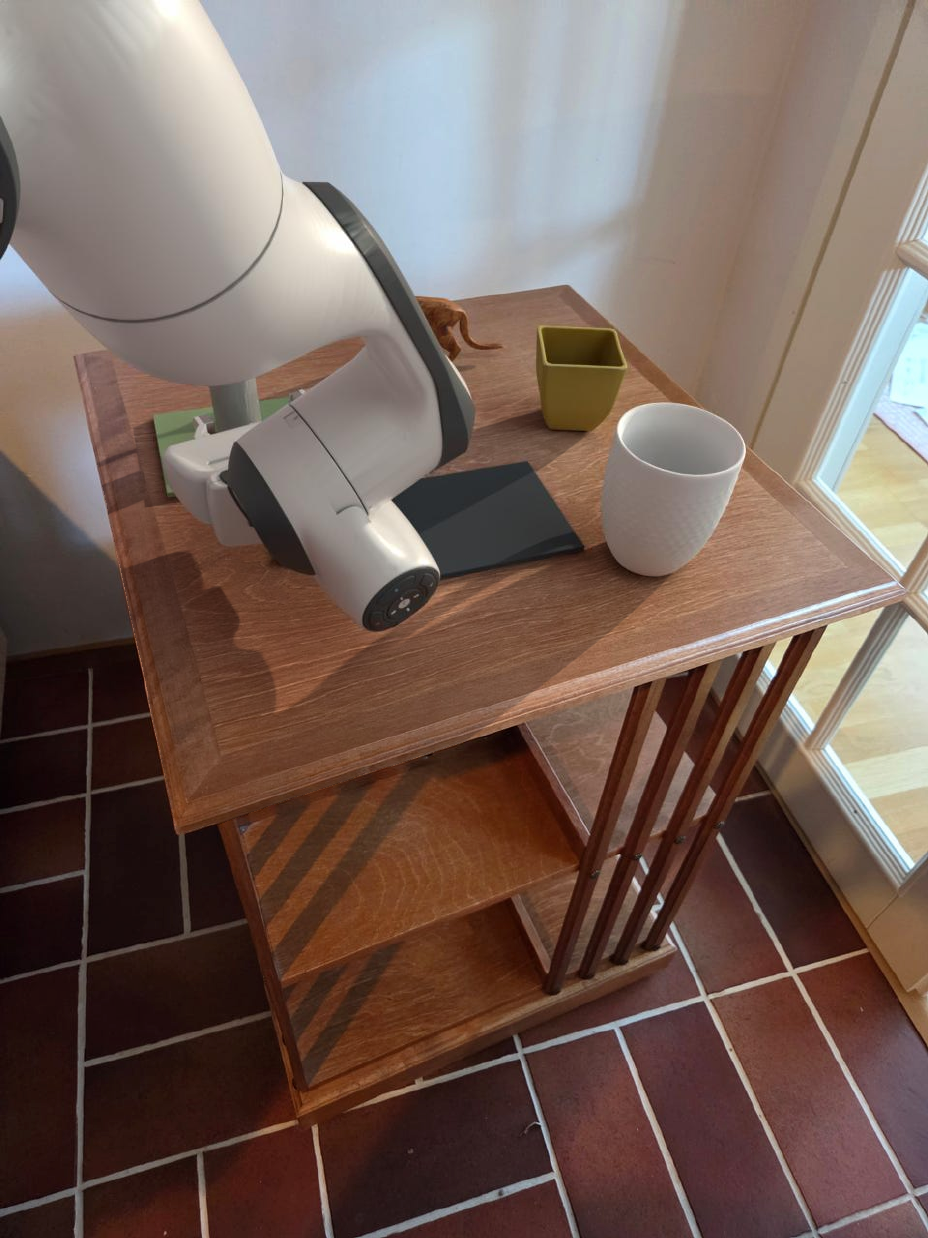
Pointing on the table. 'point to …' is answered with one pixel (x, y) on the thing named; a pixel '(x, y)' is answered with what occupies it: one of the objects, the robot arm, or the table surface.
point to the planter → (235, 404)
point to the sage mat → (182, 429)
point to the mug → (667, 484)
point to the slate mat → (487, 519)
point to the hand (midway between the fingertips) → (249, 409)
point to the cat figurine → (449, 325)
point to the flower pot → (578, 375)
